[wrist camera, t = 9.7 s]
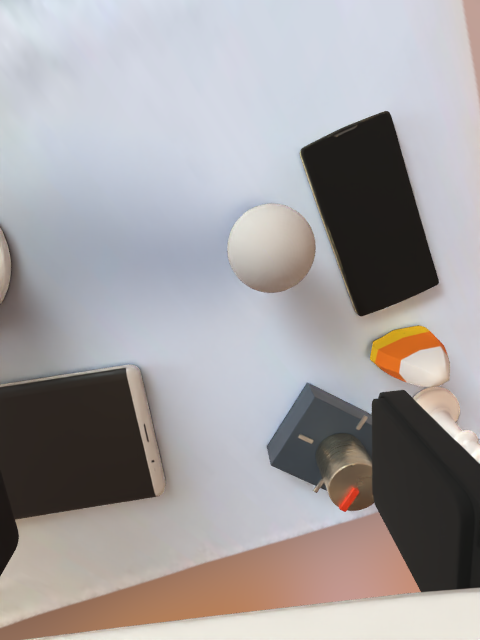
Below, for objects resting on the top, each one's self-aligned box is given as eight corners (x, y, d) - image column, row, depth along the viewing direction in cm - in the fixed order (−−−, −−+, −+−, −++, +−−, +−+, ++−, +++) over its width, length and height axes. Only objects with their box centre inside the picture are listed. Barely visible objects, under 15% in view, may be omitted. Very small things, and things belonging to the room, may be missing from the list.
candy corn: (369, 368, 39) (407, 409, 31) (361, 339, 38) (398, 375, 30) (430, 346, 38) (484, 382, 31) (424, 317, 38) (477, 347, 30)
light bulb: (268, 288, 36) (288, 319, 26) (211, 249, 35) (209, 267, 25) (309, 230, 35) (344, 240, 25) (251, 188, 34) (265, 182, 24)
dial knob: (331, 425, 37) (348, 457, 32) (373, 444, 37) (395, 479, 33) (306, 464, 37) (319, 501, 33) (347, 482, 38) (365, 521, 34)
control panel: (263, 450, 40) (267, 471, 37) (309, 377, 39) (318, 392, 36) (349, 489, 42) (360, 512, 39) (397, 421, 40) (412, 439, 37)
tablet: (-165, 407, 37) (-183, 416, 35) (140, 359, 37) (136, 367, 35) (-109, 530, 40) (-123, 544, 39) (168, 485, 41) (166, 497, 39)
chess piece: (411, 385, 39) (474, 445, 30) (461, 387, 40) (539, 445, 30) (402, 432, 41) (461, 503, 31) (451, 433, 41) (523, 503, 31)
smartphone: (360, 320, 36) (299, 147, 32) (356, 316, 37) (296, 148, 33) (441, 286, 36) (389, 106, 31) (434, 283, 37) (384, 109, 33)
